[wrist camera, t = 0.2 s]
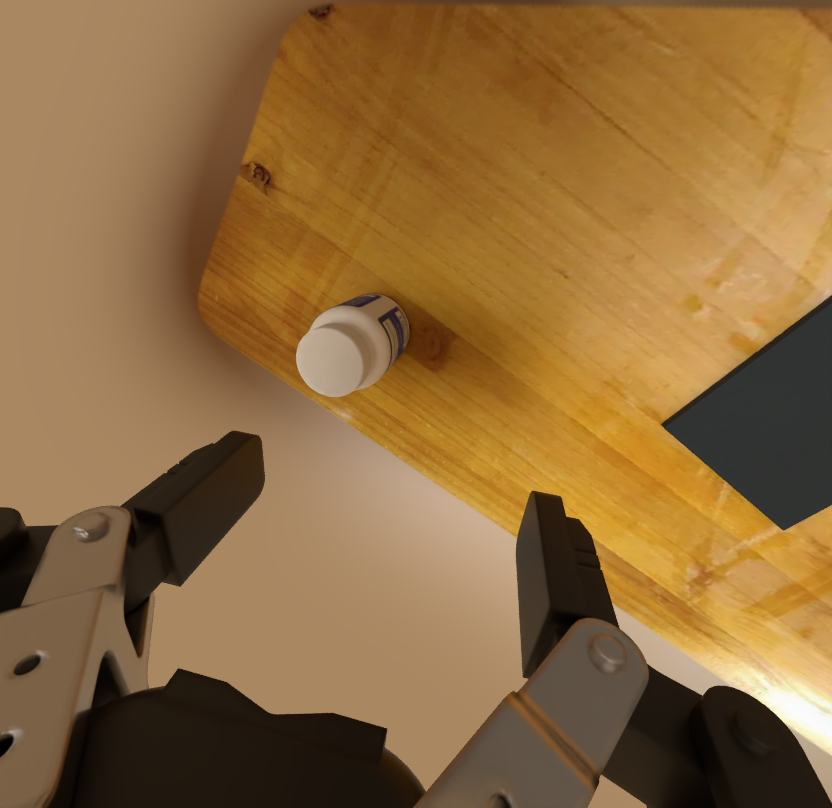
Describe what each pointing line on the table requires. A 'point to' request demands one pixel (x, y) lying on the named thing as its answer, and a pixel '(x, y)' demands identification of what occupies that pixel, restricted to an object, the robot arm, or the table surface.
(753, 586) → the table surface
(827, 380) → the mat
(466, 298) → the table surface
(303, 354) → the pill bottle
